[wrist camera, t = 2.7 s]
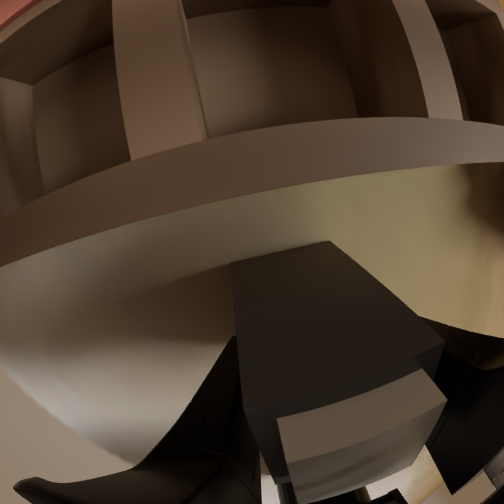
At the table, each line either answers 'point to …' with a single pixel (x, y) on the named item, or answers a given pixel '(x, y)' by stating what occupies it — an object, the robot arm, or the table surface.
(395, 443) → the plug
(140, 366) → the table surface
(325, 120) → the socket block
